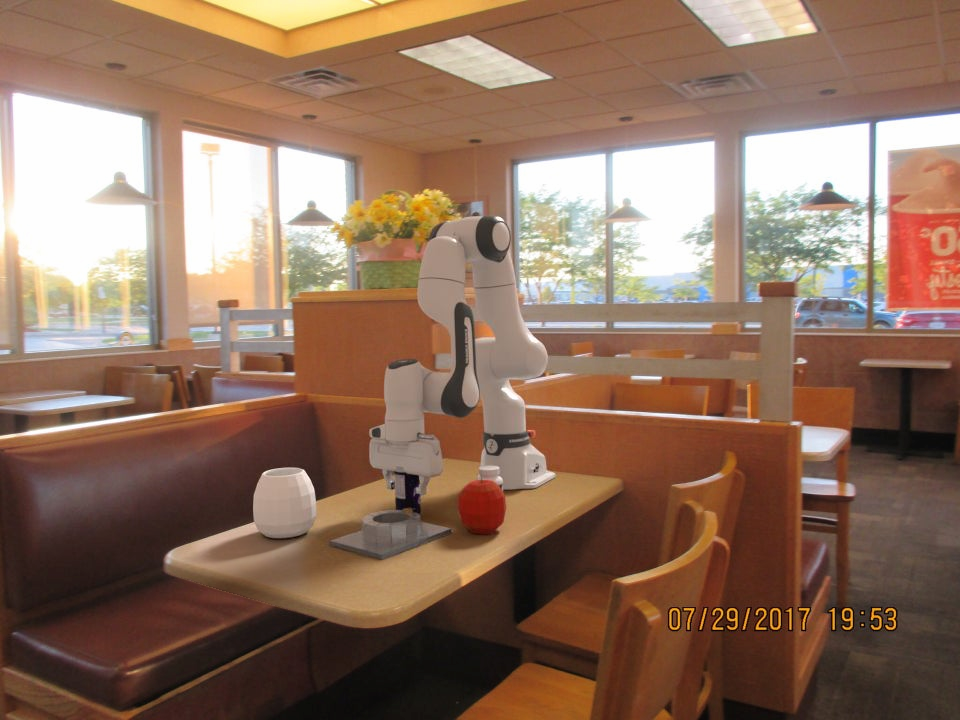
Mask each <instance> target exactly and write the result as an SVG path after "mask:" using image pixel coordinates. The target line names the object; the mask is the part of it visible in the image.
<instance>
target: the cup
mask: <svg viewBox="0 0 960 720" xmlns="http://www.w3.org/2000/svg"><path fill="white" fill-rule="evenodd" d="M252 506H253V507H252V513H253V514H252V515H253V522H254V525H255V527H256V529H257V530H258V531H259V533H260V534H262V535H264V536H265V537H267V538H271V539H287V538H295V537H298V536H302V535H304V534H305V533H307V532H308V531H309V530H311V528H312V527H313V526H314V523H315V520H316V518H317V501H316V492H315V488H314V486H313V483H312V480H311V478H310V477H309V476H308V474H307V472H306V471H305V469H302V468H301V467H300V468H299V467H281V468H273V469H269V470H266V471H264V472H262V473H261V476H260V477H259V479H258V482H257V484H256V487H255V490H254V493H253V502H252Z"/></svg>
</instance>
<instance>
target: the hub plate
mask: <svg viewBox="0 0 960 720" xmlns="http://www.w3.org/2000/svg"><path fill="white" fill-rule="evenodd" d="M421 520H422V519H421V514H418V513H416V512H412V508H406V509H403V510H396V509H391V510H390V509H389V510H381V511H376V512H372V513H370V514H366V515H365V516H363V517H362V518H361V530H359V531H356V532H353V533H350V534H346V535H344V536H339V537H337V538H335V539H332V540H329V542H330V543H329V544H330V546H331V547H335V548H338V549H341V550H345V551H347V552H348V551H349V552H352V553H355V554H360V555H363V556H367V557H369V558H370V557H371V558H374V559H378V560H381V561H382V560H385V559H388V558H391V557H393V556H395V555H398V554H401V553H403V552H406V551H409V550H411V549H414V548H417V547H419V546H422V545H424V544H426V542H427V543H430V542H431V541H435V540H438V539H440V538H443V537H445V536H448V535H450V533H451V534H452V528H450V527H447V526H441V525H436V524H432V523H427V522H423V521H421ZM447 534H448V535H447ZM444 535H445V536H444ZM442 536H443V537H442ZM439 537H440V538H439ZM437 538H438V539H437ZM434 539H435V540H434ZM429 541H430V542H429ZM421 544H422V545H421ZM416 546H417V547H416ZM413 547H414V548H413Z"/></svg>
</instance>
